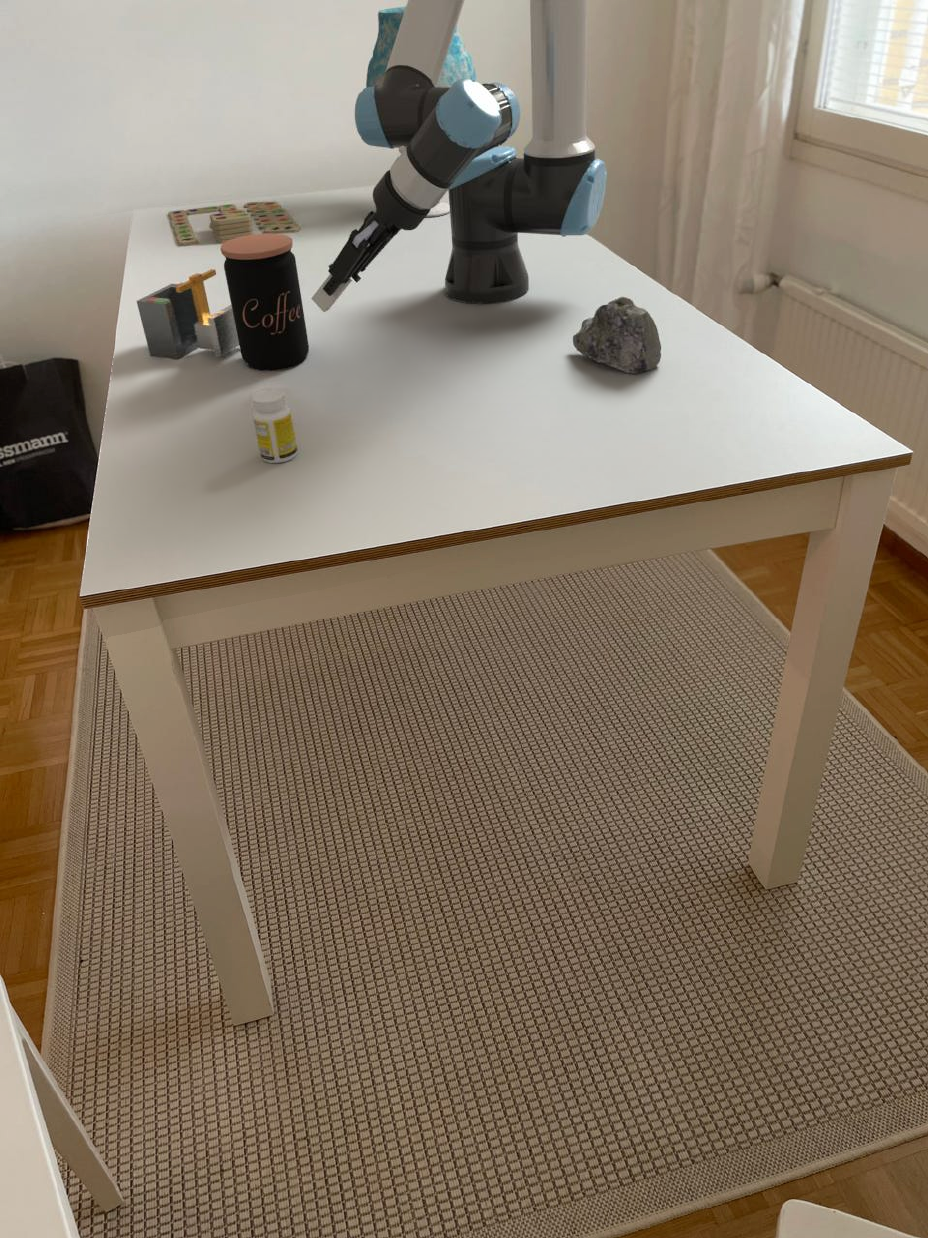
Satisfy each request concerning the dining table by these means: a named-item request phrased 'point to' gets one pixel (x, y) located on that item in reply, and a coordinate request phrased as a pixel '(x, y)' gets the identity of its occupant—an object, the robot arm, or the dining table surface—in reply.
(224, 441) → the dining table surface
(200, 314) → the plunger
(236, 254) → the coffee jar
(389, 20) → the table lamp
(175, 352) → the gauge housing
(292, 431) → the supplement bottle
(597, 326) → the mineral rock
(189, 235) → the pile of dominoes
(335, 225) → the dining table surface
